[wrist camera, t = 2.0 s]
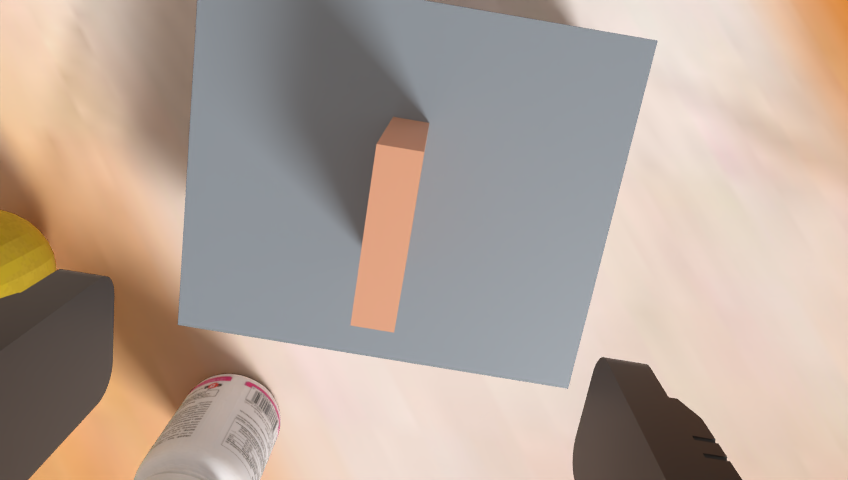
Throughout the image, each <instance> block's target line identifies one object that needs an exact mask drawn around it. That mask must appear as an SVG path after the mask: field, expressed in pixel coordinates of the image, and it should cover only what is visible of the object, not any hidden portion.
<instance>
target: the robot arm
mask: <svg viewBox="0 0 848 480" xmlns="http://www.w3.org/2000/svg"><path fill="white" fill-rule="evenodd" d="M113 327H114V286H113V283H112V280H111V279H110V278H109V277H107V276H101V275H95V274H88V273H82V272H76V271H70V270H63V269H59V270H57V271H55V272H53V273H51V274H50V275H48V276H47V277H45V278H43V279H42V280H40V281H39V282H37V283H35V284H34V285H32V286H31V287H29V288H27V289H26V290H24V291H23V292H21V293H16V294H12V295H9V296H6V297H3V298H0V480H28V479H29V478H30V477H31V476H32V475H33V474H34V473H35V472H36V470H37V469H38V468H39V467H40V466H41V465H42V464H43V463H44V462H45V461H46V460H47V458H48V457H49V456H50V455H51V454H52V453H53V452H54V451H55V450H56V449H57V448H58V446H59V445H60V444H61V443H62V442H63V441H64V440H65V439H66V438H67V437H68V436H69V435H70V433H71V432H72V431H73V430H74V429H75V428H76V427H77V426H78V425H79V424H80V423H81V421H82V420H83V419H84V418H85V417H86V416H87V415H88V414H89V413H90V412H91V411H92V409H93V408H94V407H95V406H96V405H97V404H98V403H99V402H100V400H101V399H102V397H103V395H104V393H105V391H106V389H107V386H108V383H109V380H110V376H111V372H112V363H113ZM573 474H574V479H575V480H742V479H741V477H740V476H739V474H738V473H737V471H736V470H735V468H734V467H733V465H732V464H731V462H730V461H727V456H726V455H725V453H724V452H723V450H722V449H721V447H720V446H719V444H717V443H715V438H714V437H713V435H712V434H711V432H710V431H709V429H708V428H707V426H706V425H705V423H704V422H703V420H702V419H701V418H700V417H699V416H698V415H696V414H695V413H694V412H693V411H692V410H690V409H689V408H688V407H687V406H685V405H684V404H683V403H682V402H680V401H679V400H678V399H675V398H669V397H668V396H667V394H666V392H665V391H664V389H663V388H662V386H661V384H660V383H659V381H658V379H657V378H656V376H655V375H654V373H653V371H652V370H651V368H650V367H649V366H648V365H647V364H641V363H635V362H629V361H623V360H617V359H610V358H604V357H602V358H600V359H599V360H598V362H597V364H596V366H595V368H594V371H593V375H592V378H591V382H590V386H589V390H588V393H587V397H586V401H585V405H584V408H583V412H582V416H581V420H580V423H579V427H578V431H577V434H576V438H575V443H574V450H573Z"/></svg>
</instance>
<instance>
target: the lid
mask: <svg viewBox="0 0 848 480" xmlns="http://www.w3.org/2000/svg"><path fill="white" fill-rule="evenodd" d="M656 45H657V40H651V39H645V38H639V37H633V36H628V35H622V34H616V33H610V32H605V31H599V30H593V29H587V28H581V27H576V26H570V25H564V24H558V23H553V22H547V21H541V20H535V19H530V18H524V17H518V16H512V15H506V14H501V13H495V12H489V11H483V10H478V9H472V8H466V7H460V6H454V5H449V4H443V3H437V2H431V1H426V0H197V14H196V31H195V48H194V64H193V81H192V98H191V114H190V131H189V148H188V165H187V181H186V198H185V215H184V231H183V248H182V265H181V281H180V298H179V315H178V325H182V326H188V327H194V328H200V329H206V330H212V331H219V332H225V333H231V334H237V335H243V336H249V337H255V338H261V339H268V340H274V341H280V342H286V343H292V344H298V345H304V346H310V347H317V348H323V349H329V350H335V351H341V352H347V353H353V354H359V355H365V356H372V357H378V358H384V359H390V360H396V361H402V362H408V363H414V364H421V365H427V366H433V367H439V368H445V369H451V370H457V371H463V372H469V373H476V374H482V375H488V376H494V377H500V378H506V379H512V380H518V381H525V382H531V383H537V384H543V385H549V386H555V387H561V388H567V389H568V386H569V383H570V379H571V375H572V371H573V367H574V363H575V359H576V355H577V351H578V348H579V344H580V340H581V336H582V332H583V328H584V324H585V320H586V317H587V313H588V309H589V305H590V301H591V297H592V293H593V289H594V285H595V282H596V278H597V274H598V270H599V266H600V262H601V258H602V254H603V251H604V247H605V243H606V239H607V235H608V231H609V227H610V223H611V219H612V216H613V212H614V208H615V204H616V200H617V196H618V192H619V188H620V185H621V181H622V177H623V173H624V169H625V165H626V161H627V157H628V153H629V150H630V146H631V142H632V138H633V134H634V130H635V126H636V122H637V119H638V115H639V111H640V107H641V103H642V99H643V95H644V91H645V88H646V84H647V80H648V76H649V72H650V68H651V64H652V60H653V56H654V53H655V49H656Z"/></svg>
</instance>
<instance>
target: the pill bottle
mask: <svg viewBox="0 0 848 480" xmlns="http://www.w3.org/2000/svg"><path fill="white" fill-rule="evenodd" d="M280 423H281V417H280V411H279V407H278V405H277V402H276V400H275V399H274V397H273V396H272V394H271V393H270V392H269V391H268V390H267V389H266V388H265V387H264V386H263V385H261V384H260V383H258V382H256V381H255V380H252V379H250V378H248V377H245V376H241V375H237V374H221V375H216V376H213V377H210V378H207V379H205V380H203V381H202V382H200V383H199V384H198V385H197V386H196V387H195V388H194V389H193V390H192V391H191V392H190V393H189V394H188V396H187V397H186V398H185V400H184V401H183V403H182V404H181V406H180V407H179V409H178V410H177V411H176V413H175V414H174V416H173V417H172V419H171V420H170V422H169V423H168V425H167V426H166V427H165V429H164V430H163V432H162V433H161V435H160V436H159V438H158V439H157V441H156V442H155V444H154V445H153V446H152V448H151V449H150V451H149V452H148V454H147V455H146V457H145V458H144V460H143V461H142V463H141V465H140V466H139V468H138V470H137V472H136V475H135V478H134V480H260V478H261V476H262V474H263V471H264V469H265V466H266V464H267V461H268V459H269V456H270V454H271V452H272V449H273V447H274V444H275V442H276V439H277V436H278V433H279V430H280Z"/></svg>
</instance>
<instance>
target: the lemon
mask: <svg viewBox="0 0 848 480" xmlns="http://www.w3.org/2000/svg"><path fill="white" fill-rule="evenodd" d="M55 271H56V263H55V258H54V253H53V251H52V249H51V247H50V245H49V243H48V241H47V240H46V238H45V237H44V236H43V235H42V233H41V232H40V231H39V230H38V229H37V228H36V227H35V226H33V225H32V224H31V223H30V222H29V221H27V220H25V219H23V218H21V217H19V216H17V215H15V214H13V213H10V212H7V211H3V210H0V298H3V297H6V296H9V295H12V294H16V293H21V292H23V291H24V290H26V289H27V288H29V287H31V286H32V285H34V284H35V283H37V282H39V281H40V280H42V279H43V278H45V277H47V276H48V275H50V274H51V273H53V272H55Z"/></svg>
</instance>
